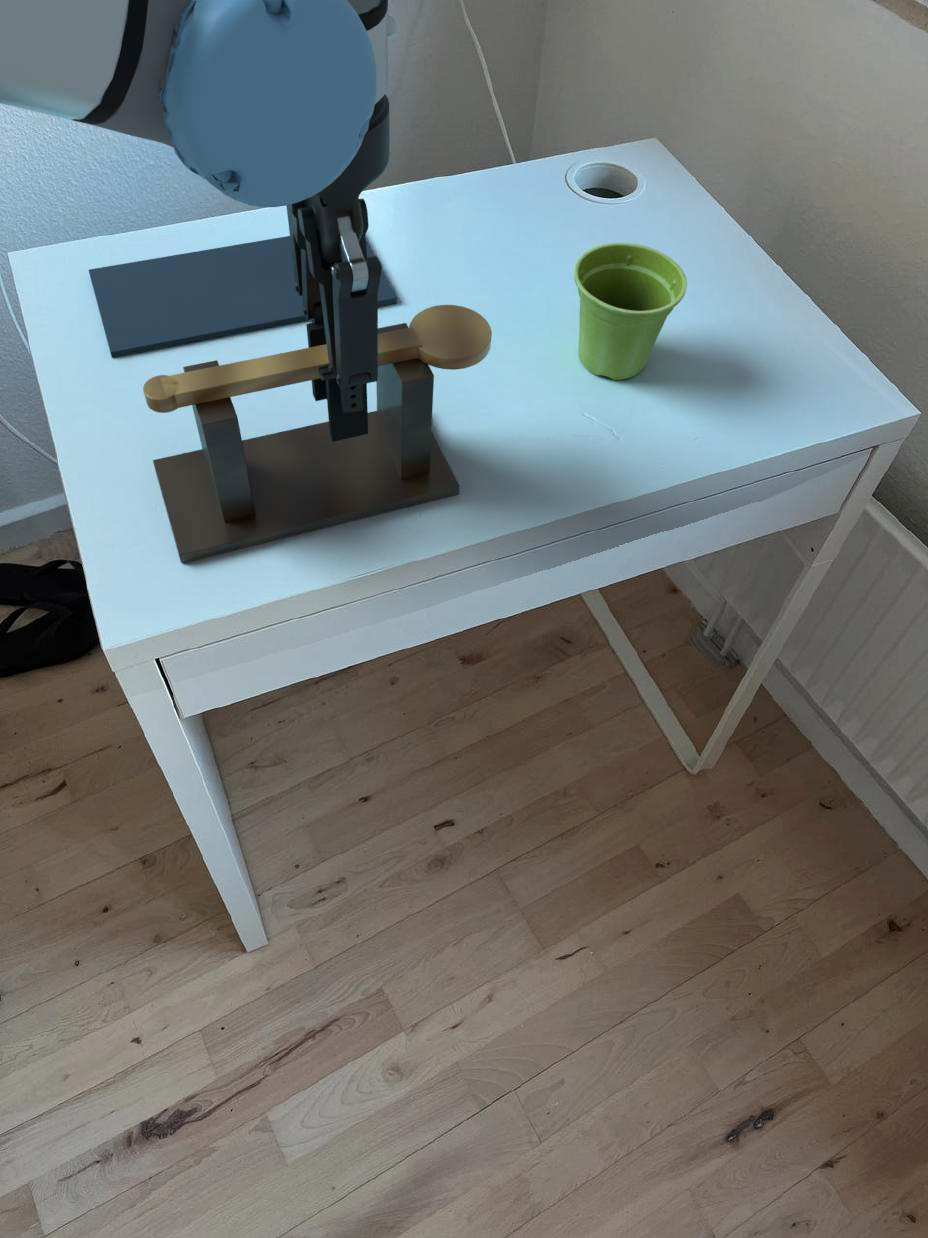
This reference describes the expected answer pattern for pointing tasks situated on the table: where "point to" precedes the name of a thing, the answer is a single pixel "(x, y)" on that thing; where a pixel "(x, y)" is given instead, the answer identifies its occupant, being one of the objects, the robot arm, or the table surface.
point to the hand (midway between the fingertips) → (340, 413)
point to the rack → (304, 469)
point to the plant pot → (624, 305)
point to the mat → (202, 295)
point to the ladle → (430, 337)
